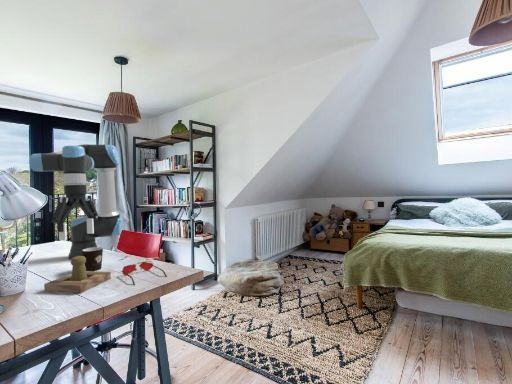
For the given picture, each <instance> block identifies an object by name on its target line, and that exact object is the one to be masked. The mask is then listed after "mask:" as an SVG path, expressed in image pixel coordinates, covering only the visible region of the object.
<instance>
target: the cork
mask: <svg viewBox="0 0 512 384" xmlns="http://www.w3.org/2000/svg"><path fill="white" fill-rule="evenodd" d="M85 262H86V258H85V257H84V256H76V257H73V258H72V259H70V265H71V266H72V267H71V269H72V270H71V273H72V276H71V281H82V280H84V279H86V278H87V273H86V268H85Z"/></svg>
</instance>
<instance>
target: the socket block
mask: <svg viewBox="0 0 512 384" xmlns="http://www.w3.org/2000/svg"><path fill="white" fill-rule="evenodd" d="M86 273H87V278H86V279H84V280H82V281H71V276H72V272H71V273H69V274H66V275H63V276H60V277H59V278H58V277H57V278H56V279H54V280H51V281H48V282H45V283H44V285H43V286H44V290H43V291H44V293H45V292H46V293H47V292H48V293H61V294H62V293H67V294H82V293H85V292H86V291H89V290H90V289H92V288H94V287H97V286H99V285H101V284H103V283H105V282H107V281H109V280H111V279H112V276H111V275H112V274H111V273H112V272H111V271H99V270H97V271H86Z"/></svg>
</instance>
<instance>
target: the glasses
mask: <svg viewBox="0 0 512 384" xmlns="http://www.w3.org/2000/svg"><path fill="white" fill-rule="evenodd" d="M137 265H138V267H140V271H142V270H144V271H145V272H149V270H151V269H152V268H153V267H154V268H156V269H158V270H160V271H162V272H163V275H164V277H165V278H168V275H167V274H166V272H165V271H164V269H162V268H160V267H158V266H156V265H154V264H153V262H152V261H150V260H147V261H142V262H138V263H132V264H128V265H124V266H123V268H122V270H121V272H122V275H124V277H129V278H130V279H131V281H132V284H133V286H135V285H136V284H135V281H134V278H133V277H132V276H131V275H130V274H131V273H134V272H136V271H138V270H137V269H138V268H137Z"/></svg>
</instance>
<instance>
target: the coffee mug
mask: <svg viewBox="0 0 512 384" xmlns="http://www.w3.org/2000/svg"><path fill="white" fill-rule="evenodd" d="M103 251H104V247H102V246H97V247H93V248H87V249H84V250H82V252H83V255H79V256H84V257H85V258H86V262H85V268H86V271H99V270H101V269H102V264H103V256H104V255H103V254H104V253H103Z"/></svg>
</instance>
